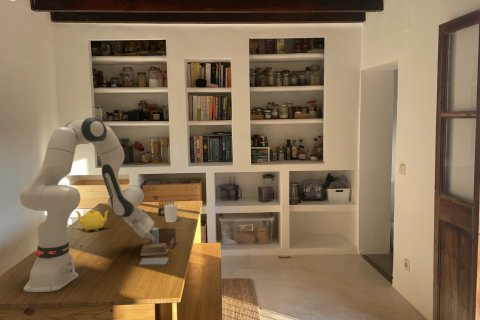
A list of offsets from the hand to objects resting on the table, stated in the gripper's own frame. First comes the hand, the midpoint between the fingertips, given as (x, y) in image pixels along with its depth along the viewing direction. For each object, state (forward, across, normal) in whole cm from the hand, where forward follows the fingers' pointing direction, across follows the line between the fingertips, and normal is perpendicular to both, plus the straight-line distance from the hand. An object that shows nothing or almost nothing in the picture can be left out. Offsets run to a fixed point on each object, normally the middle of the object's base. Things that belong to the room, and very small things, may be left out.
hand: (156, 236), depth 216 cm
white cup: (+4, +54, +5) cm, 54 cm away
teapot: (-27, +39, +35) cm, 59 cm away
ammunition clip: (0, +69, +8) cm, 69 cm away
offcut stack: (+4, -8, +4) cm, 10 cm away
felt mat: (+6, -20, +2) cm, 21 cm away
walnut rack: (+6, +4, +3) cm, 8 cm away
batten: (+4, 0, +5) cm, 6 cm away
